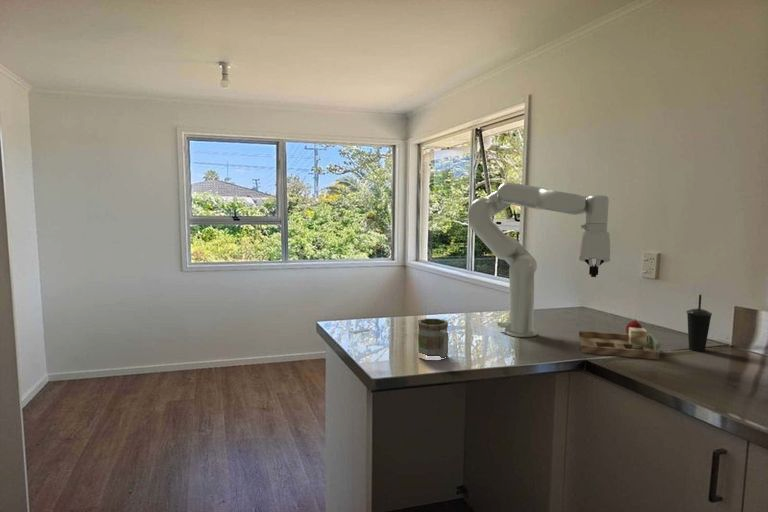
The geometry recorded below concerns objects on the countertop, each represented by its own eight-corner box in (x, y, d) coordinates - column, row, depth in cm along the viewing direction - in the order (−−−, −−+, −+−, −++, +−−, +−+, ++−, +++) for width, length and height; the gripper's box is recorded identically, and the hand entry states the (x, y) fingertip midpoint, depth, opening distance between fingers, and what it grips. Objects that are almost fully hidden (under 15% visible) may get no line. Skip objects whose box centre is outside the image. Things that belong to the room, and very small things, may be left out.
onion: (644, 341, 179) (645, 321, 178) (627, 340, 180) (628, 320, 179) (639, 337, 184) (640, 317, 183) (623, 336, 185) (624, 317, 185)
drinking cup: (705, 347, 171) (709, 293, 169) (712, 353, 164) (716, 297, 162) (681, 345, 173) (684, 292, 171) (687, 351, 166) (691, 295, 164)
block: (630, 344, 166) (631, 330, 166) (628, 340, 171) (628, 327, 170) (646, 345, 165) (647, 331, 164) (643, 341, 169) (644, 328, 169)
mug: (411, 353, 165) (411, 319, 163) (439, 350, 168) (439, 317, 167) (431, 367, 150) (432, 330, 149) (461, 363, 154) (461, 327, 153)
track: (581, 352, 165) (582, 337, 164) (578, 342, 178) (579, 327, 178) (659, 359, 157) (659, 343, 157) (649, 347, 170) (650, 333, 170)
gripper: (575, 228, 175) (572, 277, 177) (619, 229, 170) (616, 279, 172) (574, 227, 182) (571, 274, 184) (616, 228, 177) (613, 276, 179)
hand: (593, 276), depth 178 cm, fingers closed
